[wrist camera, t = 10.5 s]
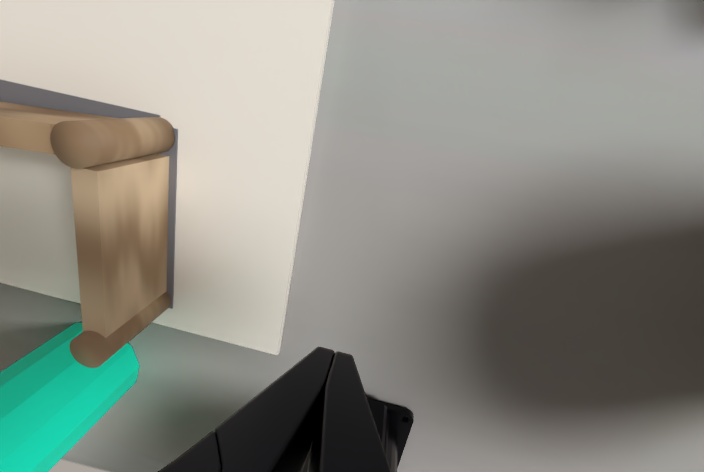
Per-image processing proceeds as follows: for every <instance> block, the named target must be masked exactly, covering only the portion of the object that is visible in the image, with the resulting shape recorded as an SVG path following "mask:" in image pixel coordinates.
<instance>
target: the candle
mask: <svg viewBox="0 0 704 472" xmlns="http://www.w3.org/2000/svg"><path fill="white" fill-rule="evenodd" d="M82 332H83V327H82V323H74V324H73V325H71V326H70V327H68V328H67V329H65V330H64V331H62V332H61V333H59V334H58V335H56V336H55V337H53V338H52V339H50V340H49V341H47V342H46V343H44V344H43V345H41V346H39V347H38V348H36V349H35V350H33V351H32V352H30V353H29V354H27V355H26V356H24V357H23V358H21V359H20V360H18V361H17V362H15V363H14V364H12V365H11V366H9V367H8V368H6V369H4V370H3V371H1V372H0V472H48V471H49V470H50V469H51V468H52V467H53V466H54V465H55V464H56V463H57V462H58V461H59V460H60V459H61V458H62V457H63V456H64V455H65V454H66V453H67V452H68V451H69V450H70V449H71V448H72V447H73V446H74V445H75V444H76V443H77V442H78V441H79V440H80V439H81V438H82V437H83V436H84V435H85V434H86V433H87V431H88V430H89V429H90V428H91V427H92V426H93V425H94V424H95V423H96V422H97V421H98V420H99V419H100V418H101V417H102V416H103V415H104V414H105V413H106V412H107V411H108V410H109V409H110V408H111V407H112V406H113V405H114V404H115V403H116V402H117V401H118V400H119V399H120V398H121V397H122V396H123V395H124V394H125V393H126V392H127V391H128V390H129V389H130V388H131V387H132V386H133V385H134V384H135V382H136V380H137V376H138V371H139V363H138V361H137V358H136V356H135V353H134V351H133V348H132V346H131V345H130V344H129V343H127V344H125V345H124V346H123V347H122V348H121V349H119V350H118V351H117V352H116V353H115V354H114V355H112V356H111V357H110V358H109V359H108V360H107V361H105V362H104V363H103V364H102V365H101V366H99V367H97V368H89V367H86V366H83V365H82V364H80V363H79V362H77V361H76V360H75V359H74V357H73V356H72V354H71V352H70V342H71V341H72V339H74V338H75V337H77V336H78V335H79V334H81V333H82Z"/></svg>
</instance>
